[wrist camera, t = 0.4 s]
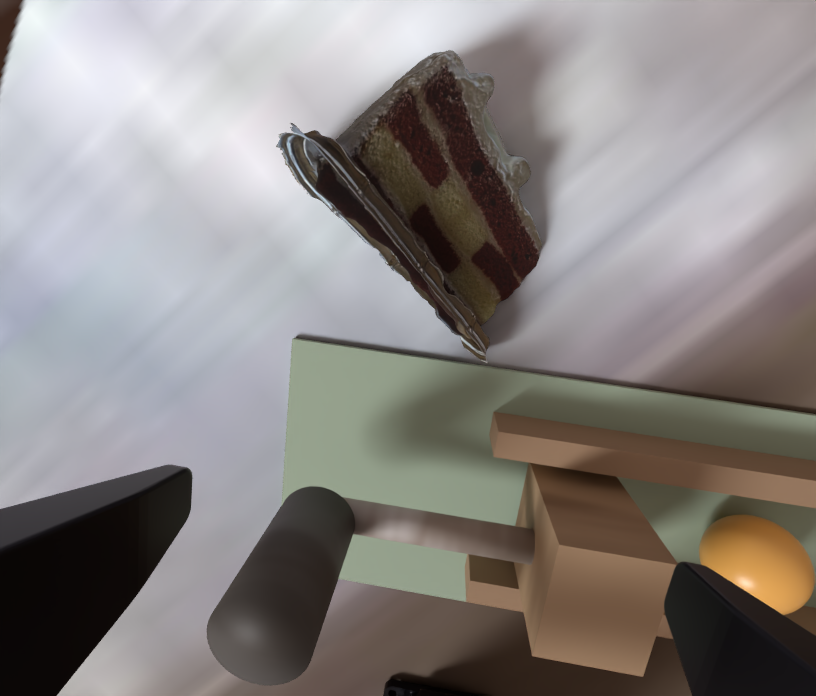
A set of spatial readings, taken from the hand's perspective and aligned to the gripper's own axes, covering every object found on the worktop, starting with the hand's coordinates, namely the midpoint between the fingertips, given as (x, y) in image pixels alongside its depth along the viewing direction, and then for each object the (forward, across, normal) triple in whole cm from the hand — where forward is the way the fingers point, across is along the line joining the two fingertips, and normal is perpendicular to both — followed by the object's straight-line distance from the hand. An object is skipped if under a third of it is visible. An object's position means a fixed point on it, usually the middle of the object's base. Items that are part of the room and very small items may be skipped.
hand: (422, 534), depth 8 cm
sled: (+13, -2, +6) cm, 14 cm away
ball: (+11, -15, +6) cm, 20 cm away
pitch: (+14, -13, +6) cm, 20 cm away
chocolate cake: (+14, +1, -7) cm, 15 cm away
